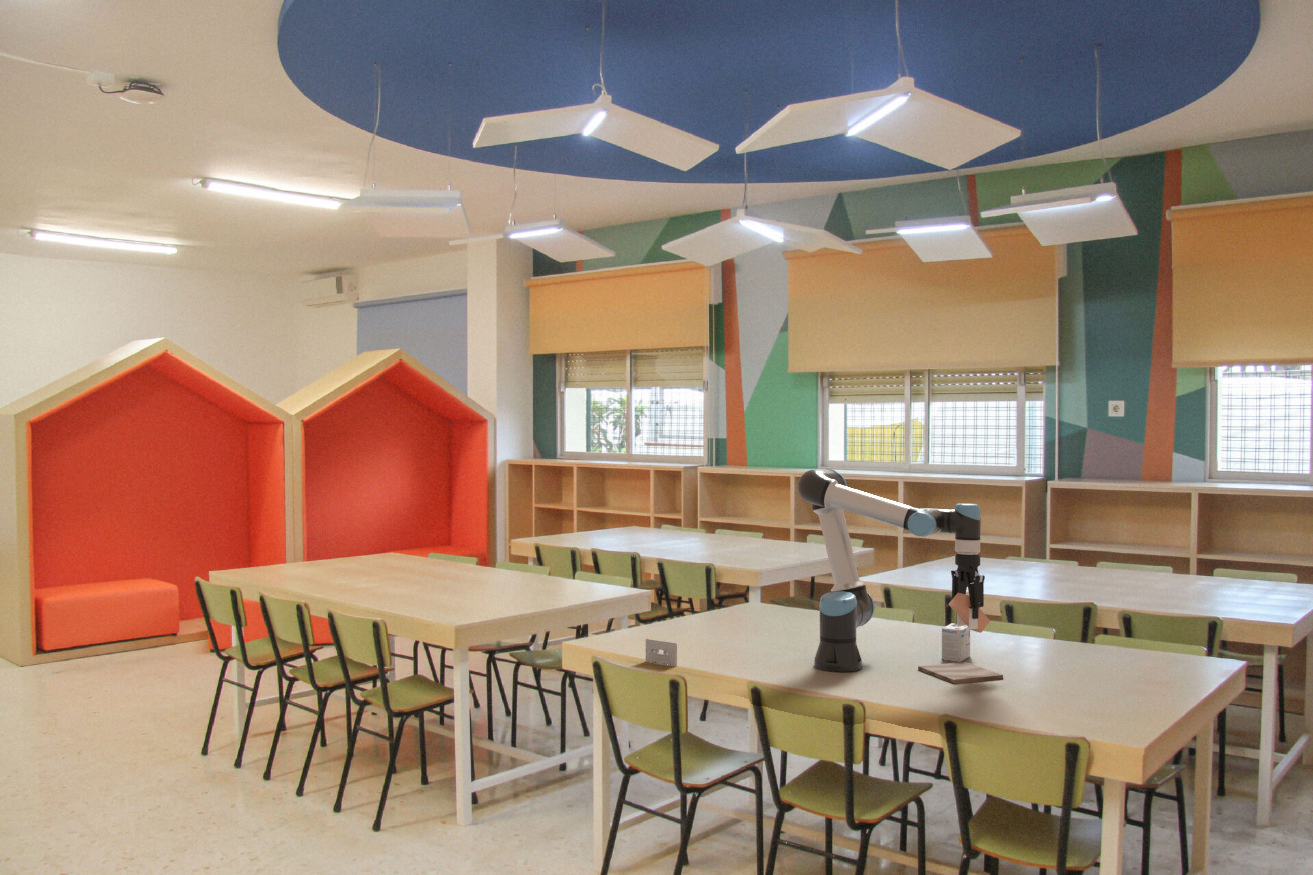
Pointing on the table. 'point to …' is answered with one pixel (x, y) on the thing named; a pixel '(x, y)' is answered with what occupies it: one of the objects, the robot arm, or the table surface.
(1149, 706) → the table surface
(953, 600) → the terracotta block
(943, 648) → the light bulb box
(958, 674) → the walnut board
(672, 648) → the cassette
